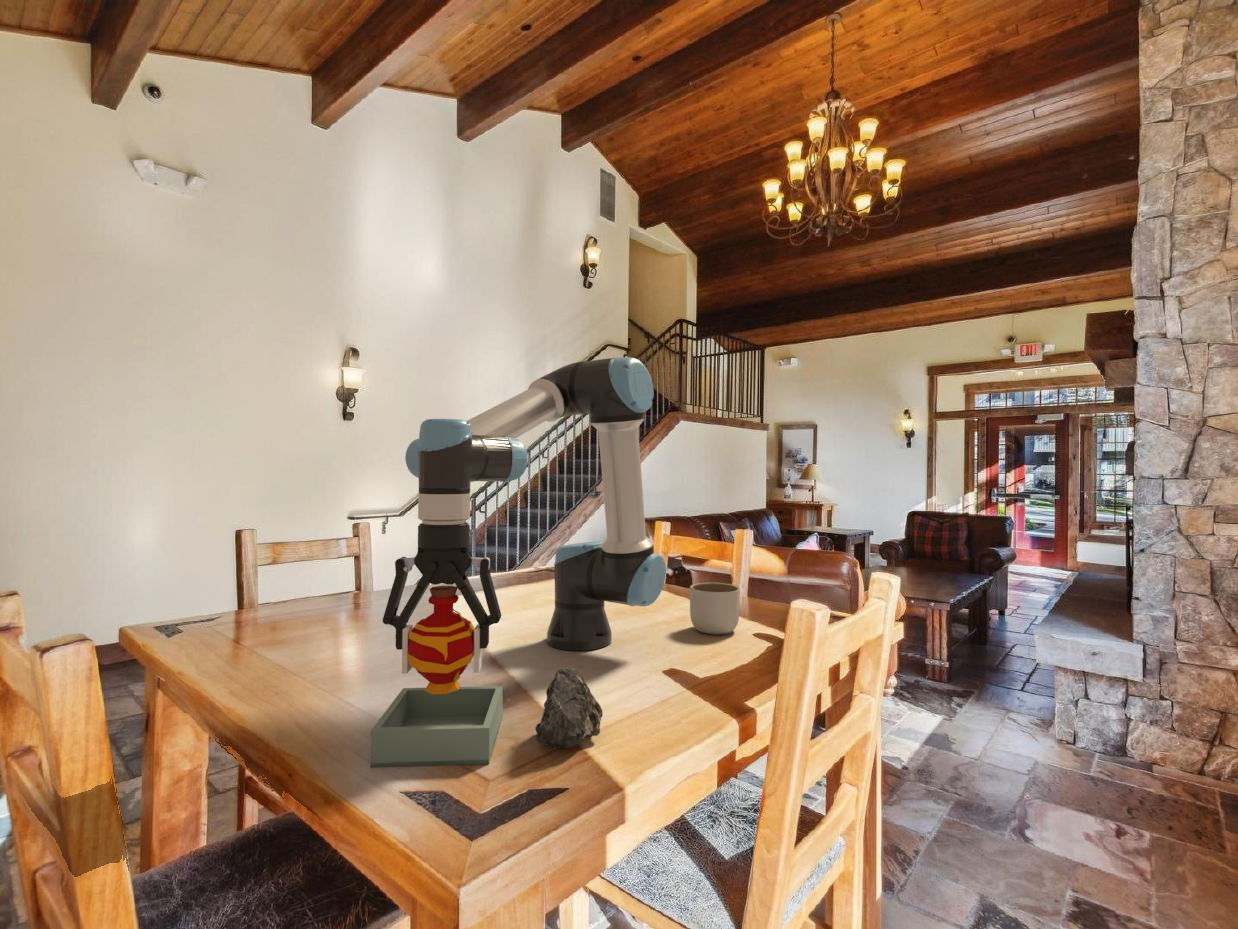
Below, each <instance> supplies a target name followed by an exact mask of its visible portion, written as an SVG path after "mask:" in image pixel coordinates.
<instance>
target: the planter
mask: <svg viewBox="0 0 1238 929" xmlns="http://www.w3.org/2000/svg"><path fill="white" fill-rule="evenodd" d="M740 599H741V588H740V587H739V586H738V585H735V584H731V583H723V582H698V583H693V584H691V585H689V614H690V621H691V623H692V625H693V627H694V628H695V629H696V630H697V631H698V632H700V633H703V634H706V635H716V636H717V635H719V636H720V635H726V634H730V633H732V632H733V631H734V630H735V629H736V628H737V625H738V623H739V620H740V610H741V608H740V604H741V602H740V601H741V600H740Z"/></svg>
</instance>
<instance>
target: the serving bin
mask: <svg viewBox="0 0 1238 929" xmlns="http://www.w3.org/2000/svg"><path fill="white" fill-rule="evenodd" d="M425 688H426V687H403V688H402V689H401V690H400V691H399V693H398V694H397V695H396V697H395V698H394V699H393V701H392V702H391V703H390V705H388V708H386V710H385V712H384V713H383V714H382V715H381V717H380V718H379V719H378V720H377V722H376V723H375V724H374V726H373V727H372V728H371V730H370V766H369V767H370V768H390V767H391V768H394V767H395V768H396V767H431V766H462V765H463V766H465V765H469V766H470V765H489V764H490V761H491V758H492V755H493V751H494V747H495V745H496V740H497V736H498V733H499V731H500V730H499V729H500V727H501V723H502V719H503V711H504V710H503V702H504V700H503V696H504V695H503V692H504V691H503V690H504V687H503V685H494V686H489V685H488V686H460V687H459V689H458V690H457V691H454V692H451V693H447V694H430V693H428V692H426V691H424V690H425Z"/></svg>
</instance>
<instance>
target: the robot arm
mask: <svg viewBox="0 0 1238 929" xmlns="http://www.w3.org/2000/svg"><path fill="white" fill-rule="evenodd" d="M652 380H653V379H652V377H651V375H650V373H649V371H648V369H647V367H646V366H645V365H644V363H643V362H642V361H640V360H639V359H637V358H635V357H629V356H627V357H626V356H623V357H619V356H617V357H610V358H604V359H596V360H595V359H594V360H586V361H585V360H584V361H576V362H572V363H570V364H569V363H568V364H567V365H564V366H562V367H559V368H557V369H555V370H553V371H551V372H549V373H547V374H545V375H544V376H541V377H539V378H537V379H535V380H533V381H532V382H531V383H530V384H529V385H528V388H527V389H526V390H524V391H523V392H520V393H519V394H516V395H514V396H512V397H510V398H509V399H507V400H505V401H502V402H501V403H499V404H497V405H494V406H493V407H491V408H489V409H487V410H486V411H483V412H482V413H480V414H477V415H475V416H474V417H471V418H469V419H468V420H465V419H456V418H428V419H427V418H426V419H425V420H423V421H422V422H421V424H420V427H419V435H418V438H415V439H414V440H412V441H411V442H410V443H409V444H408V446H407V448H406V451H405V464H406V467H407V470H408V472H410V474H411V475H412V476H414V477H416V478H418V500H417V502H418V503H417V504H418V505H417V519H418V520H419V521H421V522H420V523H419V525H418V526H417V553H416V555H415V556H414V557H406V556H401V557H399V558H398V559H397V558H396V560H395V562H394V567H395V568H394V569H395V576H394V579H393V583H392V587H391V590H390V594H389V597H388V600H387V603H386V607H385V610H384V613H383V616H382V623H383V624H384V625H389V626H393V627H394V628H395V648H396V651H397V650H402V652H401V653H402V654H401V655H402V656H401V660H402V661H401V664H402V665H401V674H403V675H405V674H408V673H409V672H410V671H411V670H412V668H413V667H412V666H410V665H409V660H408V656H407V653H408V647H409V642H410V639H409V633H410V630H411V629H412V628H414V626H413V624H408V623H409V620H410V618H411V616H412V615H413V613H414V612H415V610H416V608H417V607H418V605H419V603H420V602H421V599H422V598H423V596H424V594H425V592H426V590H427V589H428V588H429V587H430V584H431V586H432V585H433V586H434V585H435V586H436V585H437V586H438V585H440V584H444V585H446V586H454V584H455V587H457V590H459V591H460V593H461V595H462V597H463V599H464V600H465V602H466V604H467V606H468V608H469V609H470V611H471V613H472V614H473V617H474V618H475V621H476V623H477V624H476V625H475V626H474V655H473V673H480V671H481V669H482V667H483V666H482V665H483V664H482V659H483V657H482V656H483V654H482V653H483V649H487V648H488V646H489V643H490V626H492V625H494V624H498V623H500V621H501V619H502V613H501V612H502V611H501V608H500V604H499V601H498V597H497V594H496V590H495V586H494V582H493V579H492V578H493V577H492V575H491V572H490V571H491V561H492V560H491V558H490V556H484V557H478V556H477V557H476V556H475V557H473V555H472V554H471V550H470V548H471V547H470V543H471V542H470V541H471V540H470V538H471V534H470V533H471V531H470V530H471V525H470V524H469V522H467V520H469V519H470V518H471V483H473V482H501V483H506V482H509V481H510V482H511V481H516V480H519V478H520V477H522V476H523V475H524V473H525V472H526V469H527V467H528V463H529V462H528V458H529V455H528V454H529V453H528V450H527V448H526V446H525V444H524V443H523V442H522V441H521V440H519V439H518V438H519V437H521V436H523V435H524V434H526V433H528V432H529V431H532V430H533V429H534V428H536V427H538V426H540V425H542V424H543V423H545V422H556V421H557V420H559V419H561V418H563V417H568V416H577V415H580V416H581V415H589V418H590V420H589V421H590V425H591V426H592V427H594V429H596V430H597V432H598V441H599V442H598V443H599V454H600V467H601V468H600V469H601V478H602V481H601V482H602V490H603V502H604V514H605V525H606V526H605V527H606V528H605V529H606V540H605V541H586V542H577V543H568V544H564V545H560V546H559V547H558V548H557V549H556V550H555V557H554V558H555V559H554V564H553V565H554V610H553V613H552V617H551V620H550V623H549V624H548V629H547V632H546V643H547V645H549V646H551V647H552V648H556V649H559V650H566V651H593V650H597V649H602V648H604V647H607V646H609V645H610V644H611V643H612V640H613V639H612V635H613V634H612V629H611V628H612V627H611V626H610V622H609V618H608V617H607V612H606V610H605V602H609V603H615V604H620V605H621V604H622V605H626V606H629V607H647V606H651V605H652V604H653V603H654V602H656V601H657V599H658V598H659V597H660V595H661V593H662V590H663V588H664V584H665V581H666V576H667V564H666V561H665V559H664V557H663V556H662V555H660V554H659V553H658V552H655V549H654V548H655V546H654V541H653V540H652V539H651V538H649V537H648V536H647V531H646V518H645V505H644V492H643V491H644V489H643V478H642V464H641V453H640V452H641V451H640V450H641V449H640V440H639V439H640V436H639V435H640V434H639V427H640V425H641V424H642V423H643V422H644V421H645V413H646V412H647V411H648V410H650V409H651V408H652V405H653V400H654V395H655V393H654V384H653V381H652ZM413 566H415V567H416V568H417V570H418V571H419V572H420V573H421V575H422V576H421V577H420V578H419V581H418V583H417V584H416V587H415V588H414V590H413V592H412V594H411V595H410V597H409V598H408V600H407V603H406V604H405V605H404V607H403V609H402V611H401V612H400V615H397V613H398V610H399V607H400V603H401V599H402V597H403V593H404V589H405V586H406V583H407V579H408V577H409V572H411V571H412V570H413ZM471 566H474V569H475V571H476V572H477V573H479V579H480V582H481V583H480V584H481V587H482V590H483V594H484V598H485V600H486V605H487V610H488V612H489V615H488V614H487V612H486V610H485V608H484V606H483V605H482V603H481V601H480V599H479V597H478V596H477V593H476V591H475V590H474V589H473V586H472V585H471V583H470V580H469V577H468V576H467V574H466V573H467V571H468V570H469V568H470V567H471Z"/></svg>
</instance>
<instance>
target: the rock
mask: <svg viewBox="0 0 1238 929" xmlns="http://www.w3.org/2000/svg"><path fill="white" fill-rule="evenodd" d="M543 707H544V709H543V711H542V716H541V719H540V722H539V723H537V724H536V726H535V732H536V739H537V742H538V744H543V745H546V746H549V747H550V748H551V749H559V748H563V749H565V750H566V749H568V748H571V747H575V746H576V745H577V744H579V743H580V742H582V741H584V740H586V739H589V738H592V737H596V736H598V735H599V734H600V733H601V722H602V718H603V713H604V712H603V709H602V707H601V705H600V703H599V701H597V699H596V697H594V695H593V693H592V692H591V688H590V687H589V686H588V684H587V683H586V682H585V679H584V677H583V676H582V675H581V674H580V672H579V671H578V669H577V668H575V667H572V668H567V667H563V666H562V667H559V668H558V669H557V670H556V672H555V674H554V678H553V679H552V681H551V682H550V684H549V686H548V687H547V688H546V700H545V702H544V703H543Z"/></svg>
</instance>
